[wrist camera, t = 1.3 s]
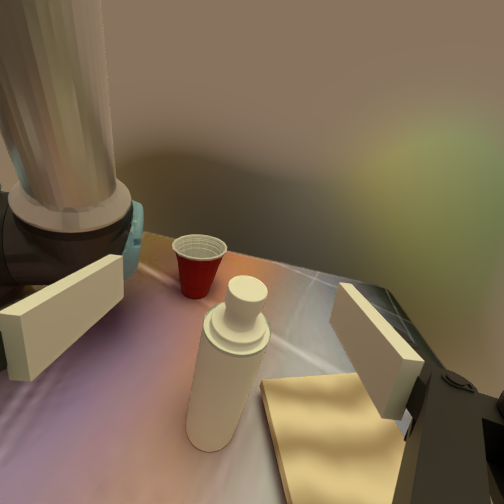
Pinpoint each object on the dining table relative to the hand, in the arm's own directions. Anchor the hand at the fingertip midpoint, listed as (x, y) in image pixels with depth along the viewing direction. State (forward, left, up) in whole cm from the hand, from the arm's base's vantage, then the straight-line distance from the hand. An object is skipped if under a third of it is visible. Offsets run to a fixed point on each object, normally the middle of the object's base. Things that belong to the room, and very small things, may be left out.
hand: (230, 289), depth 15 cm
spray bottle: (-5, +3, -27) cm, 28 cm away
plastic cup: (-32, +1, -27) cm, 42 cm away
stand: (+1, +19, -27) cm, 33 cm away
